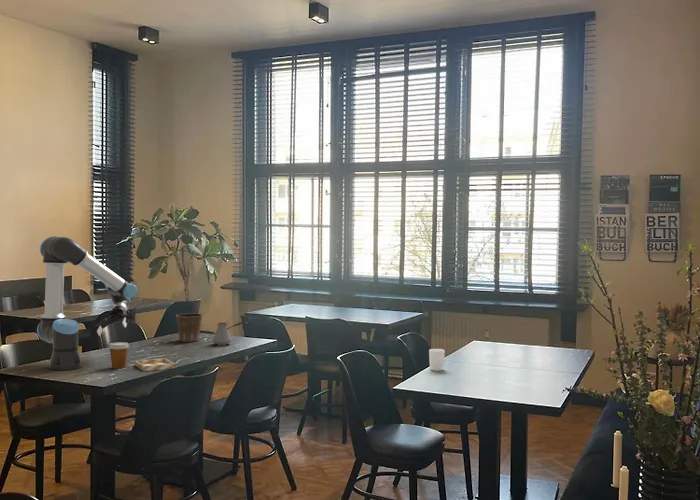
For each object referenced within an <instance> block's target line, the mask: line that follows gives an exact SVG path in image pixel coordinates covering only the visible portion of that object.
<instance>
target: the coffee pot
mask: <svg viewBox="0 0 700 500" xmlns="http://www.w3.org/2000/svg"><path fill="white" fill-rule="evenodd" d="M244 323H245V324H248V321H247V320H244V321H241V322H237V323H235V324H233V325H231V326H228V325H229V324H228V322H216V325H217V328H216V331H215V332H214V336H213V338H212V343H213V344H215V345H216V344H217V345H216V346H226V345H225V344H228V345H230V344H231V342H232V340H233V339H232V337H231V334H230V332H229V329H232V328H234V327H237V326H240V325H242V324H244Z"/></svg>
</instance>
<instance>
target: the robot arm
mask: <svg viewBox="0 0 700 500" xmlns="http://www.w3.org/2000/svg"><path fill="white" fill-rule="evenodd" d="M39 252H40V255H41V256H42V264H44V266H45V286H44V287H45V289H44V290H45V291H44V293H45V295H44V313H43V314H42V315H41V317H40V322H39V324H38V325H37V328H36V333H37V336H38V337H39V339H40V340H42V341H43V342H45V343H48V344H52V354H51V357H50V359H49V363H48V369H49V370H53V371H70V370H75V369H79V368H81V367H83V361H82V359H81V356H80V352H79V323H78V322H77V320H74V319H71V318H70V319H69V318H67V316H66V315H65V314H64V289H65V288H64V285H65V267H66V266H67V265H68V264H69V263H70V264H71V265H73V266H75V267H77V266H78V267H80V269H83V270H84V271H85V272H87V273H88V274H90V275H91V276H93V278H95V279H97V280H98V281H100V282H101V283H103V284H104V286H105V289H106V291H107V293H108V295H109V296H110V299H111V301H112V303H113V307H112V309H111V311H110V315H109V317H106V316H105V317H103V319H102V320H101V321H100V322H99V323H97V324H96V325H94V329H95V331H96V333H97V334H98V337H101V336H102V333H103V331H104V329H105V328H106V327H108V326H110V325H112V324H114V323H116V322H120V321H122V326H123V328H127V325H128V323H130V321H131V320H134V319H135V318H134V316H133V314H132V313H131V312H130V311H129V308H130V304H131V298H135V297H136V296H137V294H138V287H137V285H135V284H134V283H130V282H128V281H126V280H125V279H124V278H122V277H121V276H119V275H118V274H117V273H116V272H115V271H113V270H111V269H110V268H108V267H107V266H106V265H105V264H104V263H102V262H100V261H98V260H97V259H96V258H94V257H93V256H92V255H90V254H89V253H88V250H87V249H86V248H85V247H83V246H81V244H79V243H78V242H76V241H75V240H73V239H72V238H70V237H66V236H49V237H47V238H45V239H44V240H43V241H41V243H40V246H39Z"/></svg>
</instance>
